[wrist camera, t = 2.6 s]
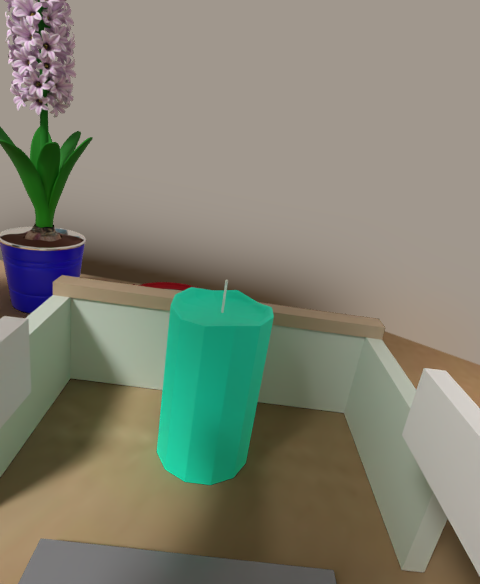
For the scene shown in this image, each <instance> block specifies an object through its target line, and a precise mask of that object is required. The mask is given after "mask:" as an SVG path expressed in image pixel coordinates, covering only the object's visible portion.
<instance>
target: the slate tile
mask: <svg viewBox="0 0 480 584" xmlns="http://www.w3.org/2000/svg"><path fill="white" fill-rule="evenodd" d="M18 584H336V579H335V574H334V570H328V569H318V568H309V567H300V566H291V565H281V564H272V563H263V562H254V561H244V560H235V559H226V558H217V557H207V556H198V555H189V554H180V553H170V552H161V551H152V550H143V549H133V548H124V547H115V546H106V545H96V544H87V543H78V542H69V541H59V540H50V539H40V541H39V543H38V545H37V547H36V549H35V551H34V553H33V555H32V557H31V559H30V561H29V563H28V565H27V567H26V569H25V571H24V573H23V575H22V577H21V579H20V581H19V583H18Z"/></svg>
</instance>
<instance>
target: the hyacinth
mask: <svg viewBox="0 0 480 584" xmlns="http://www.w3.org/2000/svg"><path fill="white" fill-rule="evenodd" d="M4 1H5V2H8V3H9V4H8V7H7V8H8V11H10V8H11V7H16V8H14V9H13V11H12V14H11V15H12V19H13V20H14V22H11V20H9V18H10V16H8V18H7V16H6V13H7V12H6V13H5V16H6V18H7V19H6V21H7V23H6V25H7V27H9V28H10V29H9V30H8V31H7V38H6V41H7V39H8V37H9V36H10V35H12V40H13V43H14V44H15V45H10V44H9V41H10V40H9V41H7V42H8V47H9V49H10V50H9V55H8V57H10V58H9V60H8V64H10V63H11V62H12V68H13V70H14V72H13V73H12V75H13V76H14V77H15V79H14V80H13V81H12V88H13V89H12V88H11V87H10V91H11V93H12V94H14V95H16V97H14V99H13V101H14V103H15V104H17V103H18V104H17V109H18V111H19V109H20V106H21V105H23V106H24V107H26V105H25V101H31V102H33V103H32V104H31V105H30V107H29V108H30V110H34V109H35V108H36V114H37V115H40V127H39V128H38V129H37V131H36V132H35V134H34V136H33V139H32V144H31V151H30V159H29V158H28V156H27V155H25V153H24V152H22V150H21V149H19V148H17V147H16V146H15V145H14V143H13V142H12V140H11V139H10V138H9V137H8V136H7V134H6V133H5V132H4V131H3V129H2V128H1V127H0V144H1V146H2V147H3V148H4V150H5V151H6V153H7V154H8V156H9V157H10V159H11V160H12V162H13V164H14V165H15V167H16V169H17V171H18V173H19V175H20V177H21V179H22V182H23V184H24V187H25V189H26V191H27V193H28V195H29V197H30V199H31V201H32V203H33V206H34V208H35V214H36V224H35V225H34V226H33V227H21V228H13V229H8V230H5V231H3V232H1V233H0V246H1V251H2V256H3V261H4V266H5V272H6V277H7V282H8V286H9V292H10V297H11V302H12V305H13V307H14V308H16V309H17V310H20V311H23V312H27V313H32V312H33V311H34V310H36V309H37V308H38V307H39V306H40V305H42V304H43V303H44V302H45V301H46V300H48V299H49V298H50V297H51V296H52V295H53V281H55V280H56V279H57V278H59V277H60V276H61V275H65V276H72V277H80V271H81V264H82V257H83V251H84V244H85V242H86V238H85V237H84V236H83V235H82V234H80V233H77V232H74V231H70V230H66V229H60V228H54V225H53V218H54V213H55V209H56V206H57V203H58V200H59V198H60V196H61V193H62V191H63V188H64V186H65V183H66V181H67V178H68V176H69V174H70V172H71V170H72V168H73V166H74V164H75V163H76V161H77V160H78V158H79V157H80V155H81V154H82V153H83V151H84V150H85V148H86V147H87V145H88V144H89V143H90V141H91V140H92V137H90V138H88V139H87V140H85V141H84V142H83V143H82V144H81V145H80V146H78V147H77V149H76V150H75V148H76V145H77V143H78V141H79V138H80V135H81V132H79V131H77V132H75V133H73V134H72V135H71V136H70V137H69V138H68V139H67V140H66V142H65V143H64V144H63V146H62V147H61V149H60V147H59V145H58V143H56V142H52V139H51V137H50V134H49V132H48V110H49V108H48V106H47V103H49V104H51V105H52V106H53V108H54V109H53V110H52V111H51V112H50V113H51V114H53V113H54V112H55V115H54V117H57V116H58V111H59V112H60V113H65V110H64V109H63V108H65V109H66V108H68V107H69V106H70V101H73V96H71V95H70V94H71V92H72V88H73V84H71V82H70V76H71V77H76V73H75V72H74V70H72V69H71V68H73V67H74V65H75V59H74V60H73V61H72V62H71V59H70V58H69V57H68V56H67V55H71V56H72V57H73V55H72V54H73V53H74V52H73V48H75V43H74V42H75V41H73V40H74V34H73V39H72V38H71V37H70V41H68V40H67V37H69V34H70V33H69V32H68V31H70V29H71V27H70V26H69V24H70V25H72V26H74V25H73V23H74V22H73V20H72V19H71V18H70V17H68V16H69V15H70V14H71V9H70V6H69V4H68V3H66V2H65V1H66V0H36V1H37V2H36V3H35V4H34V2H33V0H4ZM63 5H64V8H62V6H63ZM66 6H67V7H69V8H68V9H67V10H66ZM61 8H62V9H61ZM59 9H60V10H59ZM15 11H16V12H15ZM43 11H44V12H43ZM26 23H27V24H28V25H27V24H26ZM63 23H65V24H66V25H67V28H68V29H67V28H66V27H65V26H63V27H58V26H61V25H62V24H63ZM33 24H34V25H33ZM32 25H33V26H32ZM44 28H45V30H46V31H47V32H49V34H47V33H46V32H45V31H44ZM38 30H39V31H38ZM17 35H18V37H16V36H17ZM24 42H25V43H24ZM21 43H24V46H25V48H26V49H25V48H24V47H23V46H22V45H21ZM30 44H31V50H32V51H30ZM37 46H38V48H37ZM38 49H39V50H38ZM55 56H57V57H58V60H57V61H55V59H56V58H55ZM73 58H74V57H73ZM64 60H65V61H66V64H64ZM14 61H15V62H14ZM52 61H53V62H52ZM60 61H61V62H60ZM13 62H14V63H13ZM36 68H37V69H38V70H39V71H40V72H37V71H36V70H35V69H36ZM15 71H16V72H15ZM16 78H17V79H16ZM68 81H69V82H68ZM18 83H19V84H18ZM21 84H26V85H27V86H28V87H25V88H22V87H21ZM15 89H16V90H18V91H16V90H15ZM47 95H48V96H47ZM56 99H57V100H56ZM35 101H36V102H35ZM63 101H64V102H65V104H62V103H63ZM66 104H67V105H66ZM56 108H57V109H56ZM74 150H75V151H74Z"/></svg>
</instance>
